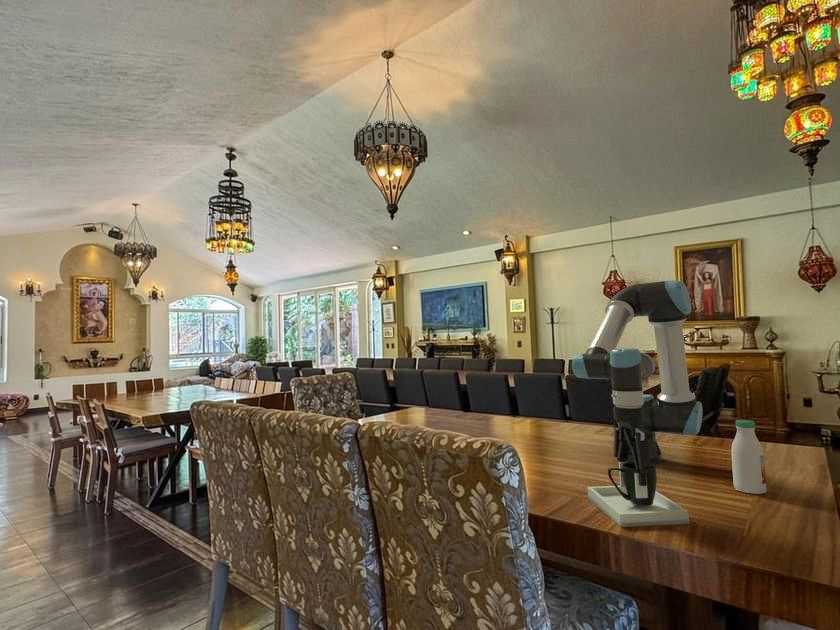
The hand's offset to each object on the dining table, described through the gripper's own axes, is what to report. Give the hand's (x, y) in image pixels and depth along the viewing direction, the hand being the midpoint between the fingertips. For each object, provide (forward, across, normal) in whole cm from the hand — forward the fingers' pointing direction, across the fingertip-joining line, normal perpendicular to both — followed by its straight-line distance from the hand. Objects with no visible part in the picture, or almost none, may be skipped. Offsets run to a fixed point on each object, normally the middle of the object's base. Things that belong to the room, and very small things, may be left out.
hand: (633, 491), depth 119 cm
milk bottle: (+5, -10, +39) cm, 40 cm away
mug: (+3, 0, 0) cm, 3 cm away
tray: (+5, 0, 0) cm, 5 cm away
